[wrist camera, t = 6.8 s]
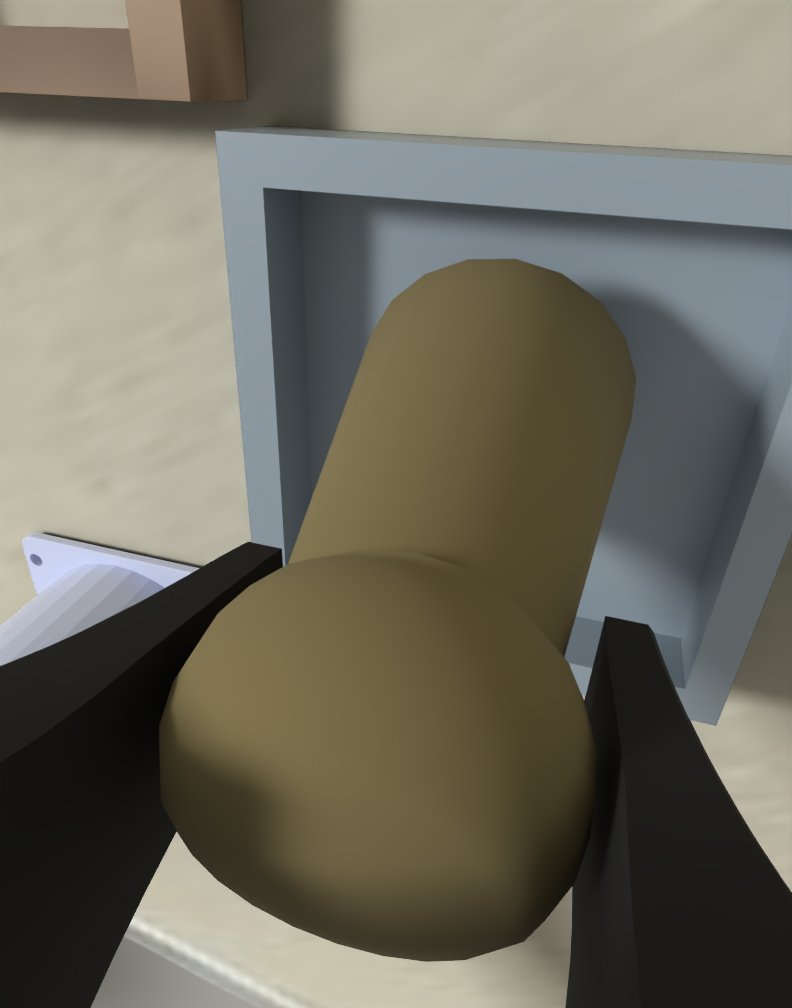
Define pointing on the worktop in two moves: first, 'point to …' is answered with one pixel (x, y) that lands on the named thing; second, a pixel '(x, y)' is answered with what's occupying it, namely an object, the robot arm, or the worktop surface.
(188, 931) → the worktop surface
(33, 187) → the worktop surface
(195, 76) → the frame
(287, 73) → the worktop surface
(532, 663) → the cork
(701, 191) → the parts tray
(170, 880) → the worktop surface
